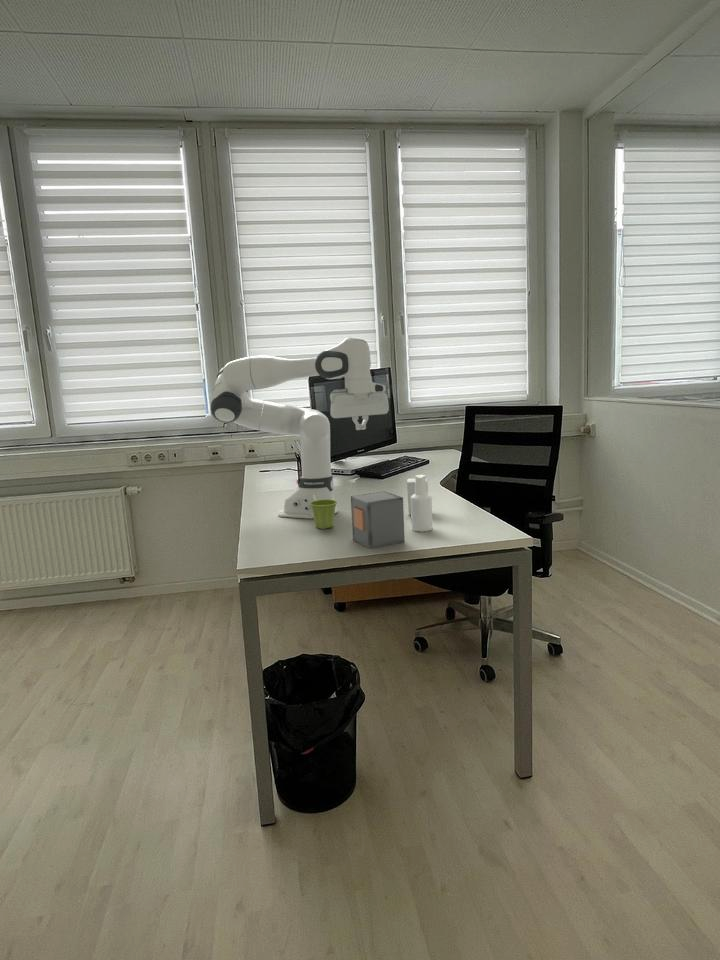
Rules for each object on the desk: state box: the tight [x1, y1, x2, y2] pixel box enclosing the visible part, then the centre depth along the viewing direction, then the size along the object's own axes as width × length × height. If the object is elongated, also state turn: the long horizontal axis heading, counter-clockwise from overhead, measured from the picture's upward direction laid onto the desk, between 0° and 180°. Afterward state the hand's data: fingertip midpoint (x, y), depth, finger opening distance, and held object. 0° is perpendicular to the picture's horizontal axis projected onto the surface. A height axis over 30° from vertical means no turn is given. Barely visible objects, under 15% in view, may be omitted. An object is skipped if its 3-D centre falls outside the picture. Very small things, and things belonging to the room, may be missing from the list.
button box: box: [350, 491, 406, 549], centre depth 184 cm, size 12×12×14 cm
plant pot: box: [310, 499, 338, 530], centre depth 205 cm, size 9×9×9 cm
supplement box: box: [406, 477, 429, 516], centre depth 217 cm, size 7×7×13 cm
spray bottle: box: [410, 474, 433, 533], centre depth 195 cm, size 7×7×18 cm
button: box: [354, 507, 365, 530], centre depth 183 cm, size 5×6×6 cm
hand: (360, 429), depth 199 cm, fingers closed
